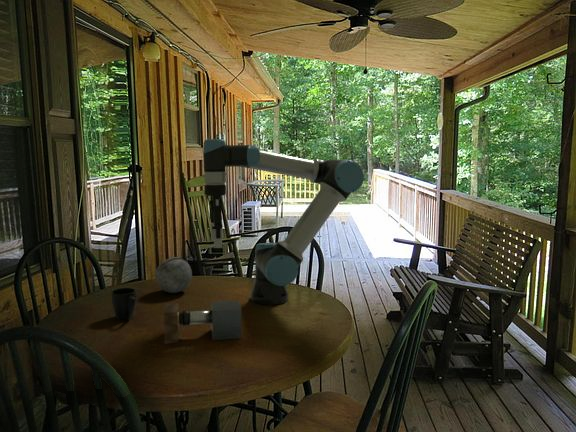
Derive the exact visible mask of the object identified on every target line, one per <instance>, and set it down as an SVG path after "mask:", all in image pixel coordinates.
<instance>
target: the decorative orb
mask: <svg viewBox="0 0 576 432" xmlns="http://www.w3.org/2000/svg"><path fill="white" fill-rule="evenodd" d="M154 277H155V281H156V284H157V285H158V287H159V288H160V289H162V290H163V291H164V292H165V293H169V294H177V293H180V292H182V291H185V289H187V287H189V286H190V284H191V281H192V279H193V271H192V267H191V266H190V264H189V263H188V262H187V261H186V260H185V259H183V258H181V257H179V256H178V257H177V256H174V257H170V258H167V259H165V260H163V261H162V262H161V263H160V264H159V265H158V267H157V268H156V269H155V273H154Z"/></svg>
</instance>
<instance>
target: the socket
mask: <svg viewBox="0 0 576 432" xmlns="http://www.w3.org/2000/svg"><path fill="white" fill-rule="evenodd" d="M178 312H179V303H178V302H170V303H169V302H168V303H165V305H164V311H163V328H164V329H163V330H164V331H163V332H164V337H163V338H164V339H163V340H164V344H178V343H179V334H180V333H179V332H180V329H179V328H180V327H179V326H180V325H178Z"/></svg>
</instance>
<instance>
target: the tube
mask: <svg viewBox="0 0 576 432" xmlns="http://www.w3.org/2000/svg"><path fill="white" fill-rule="evenodd" d="M211 323H212V310H211V309H210V310H195V311H190V310H182V311H180V312H179V311H178V325H179V326H182V327H189V326H191V325H201V324H204V325H205V324H211Z"/></svg>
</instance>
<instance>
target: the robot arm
mask: <svg viewBox="0 0 576 432" xmlns="http://www.w3.org/2000/svg"><path fill="white" fill-rule="evenodd" d="M202 153H203V154H202V155H203V156H202V158H203V174H202V175H201V176H202V178H203V180H204V181H203V182H204V183H205V185H203V186H204V187H203V188H204V189H203V190H204V191H203V192H204V195H205V196H206V197H207V196H208V197H209V198H210V200H209V209H210V217H209V219H210V236H211V237H210V239H211V240H210V241H213V248H214V249H219V248H223V216H222V210H223V209H222V205H223V204H222V203H223V202H222V199H220V196H226V195H227V185H226V184H227V171H226V170H227V169H226V168H227V167H233V168H234V167H236V168H237V167H238V168H247V169H251V170H258V171H263V172H267V173H273V174H277V175H278V174H279V175H283V176H289V177H295V178H300V179H305V180H308V181H309V182H310V183H313V184H317V185H320V189H319V191H318V192H317V194H315V196H314V198H313V199H312V200H311V202H310V204H309V205H308V206H307V207H306V209H305V211H304V212H303V213H302V215H301V216H300V217H299V219H298V220H297V221H296V223H295V225H294V226H293V227H292V229H291V230H290V231H289V233H288V234H287V236H286V237H285V238H284V240H281V241H280V240H279V241H277V242H261V243H260V242H259V243H257V244H256V245H255V250H254V252H255V253H254V254H255V257H254V258H255V261H254V262H255V269H254V271H255V272H254V273H255V275H254V276H255V278H254V279H255V280H254V283H253V286H252V289H251V292H250V300H251V301H252V302H253V303H255V304H259V305H269V306H271V305H279V304H283V303H286V302H288V300H289V292H288V289H287V286H288V285H291V283H293V282H294V281H295V280H296V279H297V276H298V274H299V267H300V265H301V264H302V262H303V261H304V252H305V251H306V250H307V249H308V248H309V246H310V244H311V243H312V241H314V238H315V237H316V236H317V235H318V233H319V231H320V230H321V228H322V227H323V226H324V224H325V223H326V222H327V220H328V219H329V218H330V216H331V215H332V213H333V212H334V210H335V209H336V207H338V205H339V204H340V203H341V202H346V200H347V199H348V198H349V197H350V195H351V194H352V193H355V192H357V191H359V189H360V188H361V187H362V186H363V184H364V181H365V175H364V171H363V168H362V166H361V165H360V164H359V163H358V162H356V161H354V160H351V159H320V158H314V159H313V160H311V159H305V158H301V157H295V156H291V155H286V154H285V155H284V154H281V153H276V152H270V151H264V150H260V147H259V146H258V145H253V144H252V145H251V144H238V145H237V144H231V145H230V144H226V140H225V139H223V138H221V139H220V138H207V139H205V140H204V141H203V151H202Z"/></svg>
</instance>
